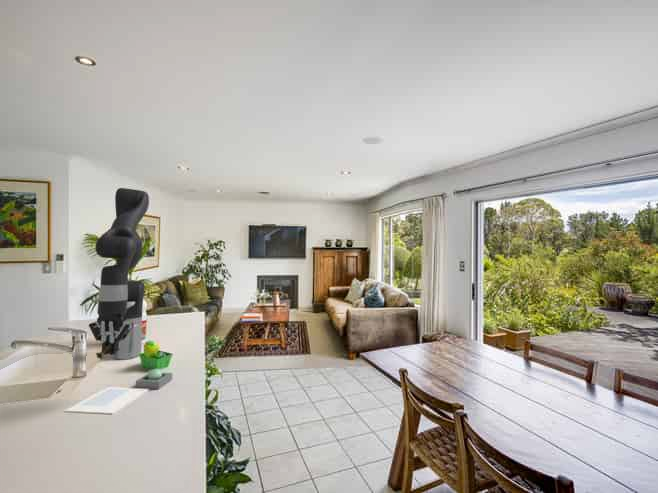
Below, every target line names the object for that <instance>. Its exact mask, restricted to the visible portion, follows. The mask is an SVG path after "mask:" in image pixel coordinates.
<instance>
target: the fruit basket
mask: <svg viewBox="0 0 658 493" xmlns="http://www.w3.org/2000/svg"><path fill="white" fill-rule="evenodd" d="M173 356H174V353H171V352H167V351H164V350H163V351H162V350H160V345H159V344H157V343H156V342H154V341H153V340H148V341H145V343H144V344H143V352H141V353H140V354H139V356H138V357H139V359H140V364H141V366H142V368H147V369H150V370H152V369H162V370H163V369H165V368H169V365H170V363H171V360H172V357H173Z"/></svg>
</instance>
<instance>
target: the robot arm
mask: <svg viewBox="0 0 658 493" xmlns="http://www.w3.org/2000/svg"><path fill="white" fill-rule="evenodd" d="M114 199H115V200H114V202H115V219H114V220H113V221H112V224H111V226H110V228H109V229H108V230H107V231H106V232H104V233H103V234H102V235H101V236H100V237H98V239H97V241H96V242H95V247H94V250H95V253H96V254H97V255H98V256H99V257H101V258H105V259H115V260H116V261H115V262H116V264H114V265H113V264H111V265H106V266H103V267H102V268H101V274H100V286H99V289H98V290H99V291H98V300H97V301H98V302H97V315H98V317H97V319H96V321H93V322H92V323H89V324H88V327H89V329H90V331H91V333H92V335H93V337H94V339H95V341H96V342H97V341H99V342H100V343H101V351H103V350H104V349H105V348H106V347H107V346H108V345H109V344H110V350H108V351H107V352H106V353H105V354H104V356H107V355H109V356H114V359H116V360H129V359H134V358H137V357H140V356H139V354H141V353H142V345H143V344H142V332H141V327H142V307H143V298H144V297H145V282H143V281H142V280H129V273H130V271H131V270H132V269H133V268H134V267H135V266H136V264H138V263H139V261H140V260H141V258H142V255H143V240H142V238H141V236H140V235H139V234H138V232H137V231H136V230H137V228H138V225H139V224H140V222H141V221H142V219H143V218H144V216H145V215H146V213H147V211H148V209H149V206H150V204H149V203H150V197H149V194H148V192H147V191H145V190H139V189H132V188H125V187H119V188H118V189H117V190H116V192H115V196H114ZM128 302H135V304H134V305H133V306H131V307H129V308H127V303H128ZM118 344H119V346H120V350H118ZM141 344H142V345H141Z"/></svg>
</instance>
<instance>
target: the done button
mask: <svg viewBox="0 0 658 493" xmlns="http://www.w3.org/2000/svg"><path fill="white" fill-rule="evenodd" d="M162 373H163V369H150V370H148V371H147V374H148V378H147V380H158V379H160V378H161V377H162Z"/></svg>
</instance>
